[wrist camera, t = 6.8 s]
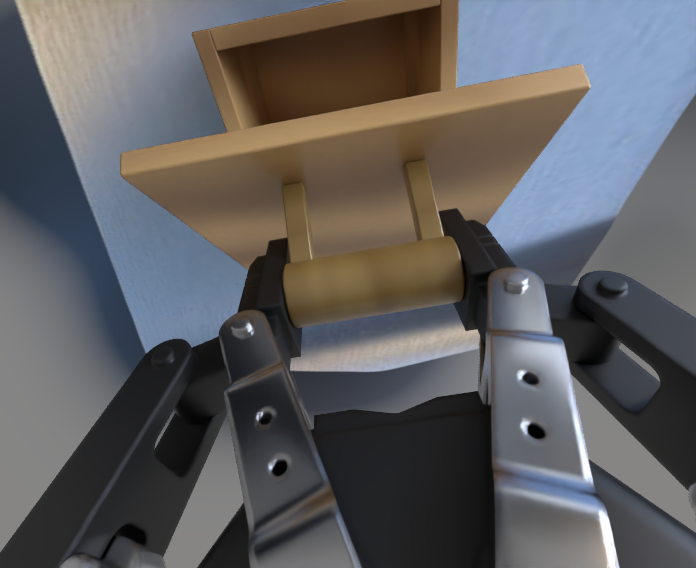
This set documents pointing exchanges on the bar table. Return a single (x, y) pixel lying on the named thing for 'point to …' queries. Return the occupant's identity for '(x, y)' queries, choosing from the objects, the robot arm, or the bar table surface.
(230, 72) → the chest
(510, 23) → the bar table surface
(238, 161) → the lid
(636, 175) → the bar table surface
